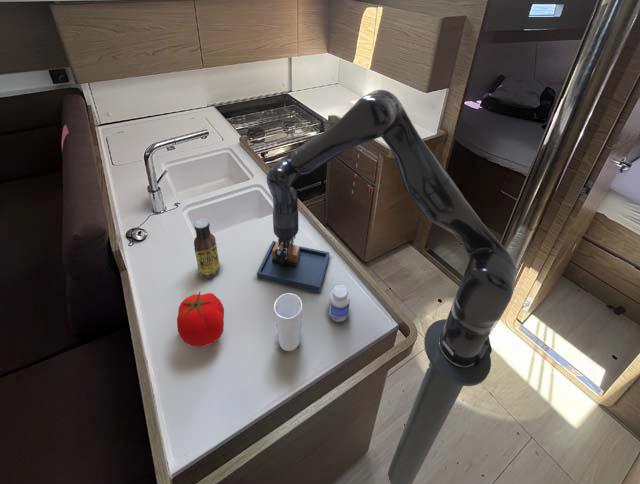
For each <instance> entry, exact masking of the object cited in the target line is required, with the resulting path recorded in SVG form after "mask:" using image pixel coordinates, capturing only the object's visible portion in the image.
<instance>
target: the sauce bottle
mask: <svg viewBox="0 0 640 484" xmlns="http://www.w3.org/2000/svg"><path fill="white" fill-rule="evenodd" d="M193 226H194V231H195V235H196V236H195V238H194V241H193V246H194V255H195V258H196V263H197V269H198V272H199V275H200V276H201V277H202V278H205V279H211V278H214V277H215V276H217V275H218V273H219V272H220V267H221V266H220V259H219V251H218V246H217V245H218V244H217V242H216V237H215V235H214V234H213V233H211V230H210V226H211V225H210V221H209V219H207V218H199V219H197V220H196V221H195V222H194V223H193Z"/></svg>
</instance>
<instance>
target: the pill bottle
mask: <svg viewBox="0 0 640 484" xmlns="http://www.w3.org/2000/svg"><path fill="white" fill-rule="evenodd" d="M350 296H351V295H350V293H349V292H348V287H347V286H345V285H344V284H335V285H334V287H333V288H332V291H331V292H330V295H329V307H328V308H329V309H328V314H329V316H330V318H331V320H333V321H334V322H338V323H339V322H340V323H341V322H344V321H346V320H347V319H348V316H349V313H350V301H351V297H350Z"/></svg>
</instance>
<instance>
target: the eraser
mask: <svg viewBox="0 0 640 484" xmlns="http://www.w3.org/2000/svg"><path fill="white" fill-rule="evenodd" d="M275 241H276V243H275V245H274V247H273V250H272V257H273V258H272V263H276V264H280V262H278V261H277V260H276V255H275V250H276V249H278V244H279V243H278V240H275ZM300 246H301V245H296V244H293V245H292V244H290V251H289V253H288V258H287V261H288V263H287V264H288V265H287V266H290V267H295V268H296V267H297V264H298V261H299V259H300V256H301V253H300ZM284 249H287V248H284Z"/></svg>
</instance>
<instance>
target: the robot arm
mask: <svg viewBox="0 0 640 484" xmlns="http://www.w3.org/2000/svg"><path fill="white" fill-rule="evenodd" d="M380 138H381V139H383V141H384V143H385V144H386V145H387V146H388V148H389V149H390V151H391V153H392V154H393V156H394V158H395V161H396V163H397V167H398V169H399V172H400V176H401V179H402V183H403V184H404V188H405V189H406V191H407V193H408V195H409V196H410V198H411V199H412V201H413V202H414V204H415V205H416V206H417V208H418V209H419V211H420V212H421V213H422V214H423V216H424V217H425V218H426V219H428V221H430V222H432V223H433V224H435V225H436V226H439V227H441V228H442V229H444V230H446V231H448V232H449V233H451V234H452V235H453V236H454V237H455V239H457V240H458V242H459V243H460V244H461V246H462V248H463V249H464V250H465V252H466V255H467V256H468V259H469V260H468V263H467V266H466V268H465V271H464V274H463V276H462V279H461V281H460V284H459V287H458V289H457V292H456V294H455V297H454V299H453V302H452V304H451V307H450V309H449V312H448V314H447V317H446V319H447V320H446V323H445V325H444V328H443V330H442V333H441V335H440V337H439V340H438V346H439V349H440V352H441V354H442V355H443V357H444V358H445V359H446V360H447V361H448V362H449V363H451V364H452V365H454V366H456V367H459V368H469V367H472V366H473V365H476V366H478V364H479V362H480V361H481V359H482V357H483V356H484V357H488V358H489V356H490V357H491V354H492V352H493V348H492V345H491V340H490V334H491V332H492V330H493V328H494V327H495V324H496V323H497V322H498V321H499V320H500V319H501V318H502V317H503V315H504V313H505V311H506V309H507V308H508V306H509V304H510V302H511V300H512V298H513V295H514V291H515V286H516V285H515V284H516V279H517V274H518V268H517V264H516V261H515V259H514V258H513V256H512V255H511V254H510V253H509V251H508V250H507V249H506V247H505V246H504V245H503V244H502V243H501V242H500V241H499V240H498V239H497V238H496V236H495V235H494V234H493V232H491V231H490V230H489V229H488V227H487V226H486V225H485V224H484V223H483V221H482V220H481V218H480V217H479V215H478V214H477V213H476V211H475V209H474V208H473V207H472V206H471V204H470V203H469V202H468V200H467V199H466V198H465V196H464V195H463V193H462V191H461V190H460V188H459V187H458V186H457V184H456V183H455V182H454V180H453V178H452V177H451V176H450V174H449V173H448V171H446V169H445V168H444V167H443V165H442V164H441V162H440V161H439V160H438V158H437V157H436V156H435V154H434V153H433V152H432V150H431V149H430V148H429V146H428V145H427V144H426V142H425V141H424V140H423V139H422V137H421V135H420V134H419V132H418V130H417V129H416V127H415V125H414V124H413V123H412V120H411V119H410V117H409V114H408V113H407V111H406V109H405V108H404V106H403V105H402V103H401V101H400V99H398V97H397V96H396V95H395V94H394V93H392V92H391V91H389V90H385V89H376V90H373V91H371V92H369V93H367V94H366V95H364V96H361V97H360V98H358V100H357V101H356V102H355V103H354V104H353V106H352V107H350V108H349V110H348V111H347V112H346V113H345V114H344V115H342V117H341V118H340V119H338V121H337V122H335V123H334V124H333V125H331V126H330V127H329V128H328V129H326V130H325V131H323V132H321V133H319V134H317V135H315V136H314V137H312V138H310V139H309V140H308V141H306V142H304V143H303V144H302V145H300V146H298V148H296V149H295V150H293V151H290V152H289V153H287V154H286V155H284V156H283V157H281V158H280V159H279V160H278V161H277V162H276V163H275V164H274V165H272V166H271V167H270V168H269V169H268V171H267V174H266V184H267V188H268V189H269V192H270V195H271V198H272V227H273V229H272V230H273V233H274V235H275V236H276V238H278V239H277V242H278V243H279V244H278V249H276V250H275V255H276V260H277V261H278V262H280V265H281V266H283V267H287V265H288V264H287V263H288V261H287V258H288V253H289V251H290V244H292V245H294V243H295V239H296V235H297V234H298V233H299V209H298V208H299V207H298V198H299V197H298V192H297V190H296V189H295V188H294V187H292V185H293V184H294V183H295V182H296V181H297V180H298V178H300V177H301V176H302V175H308V174H310V173H313V172H314V171H316V170H318V169H319V168H321V167H322V166H324V165H325V164H327V163H329V162H330V161H332V160H334V158H336V157H337V156H340V155H341V154H342V153H344V152H346V151H348V150H350V149H353V148H354V147H357V146H359V145H362V144H366V143H368V142H371V141H373V140H376V139H380ZM284 248H287V249H284Z"/></svg>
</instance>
